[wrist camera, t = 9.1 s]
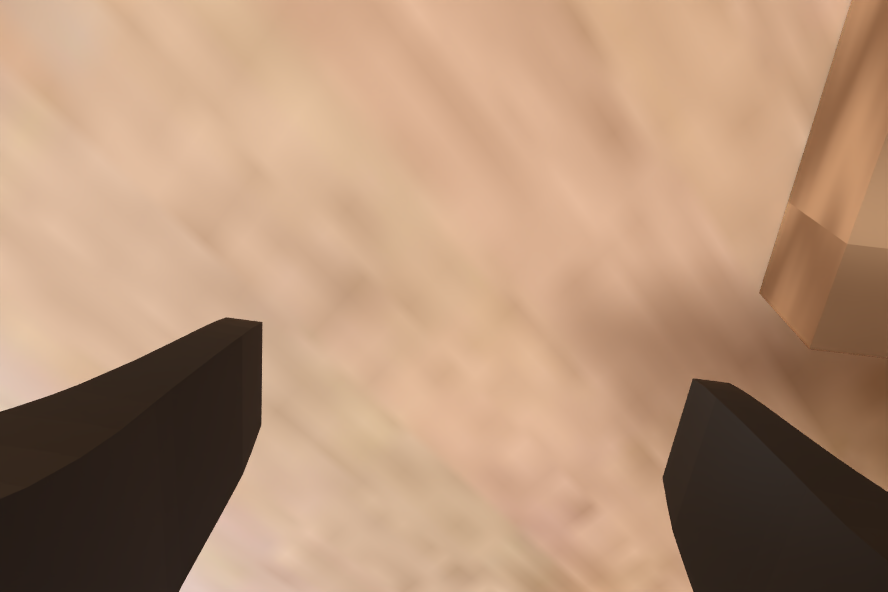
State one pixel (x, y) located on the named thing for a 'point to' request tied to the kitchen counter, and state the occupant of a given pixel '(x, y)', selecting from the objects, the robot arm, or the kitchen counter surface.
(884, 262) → the slotted wooden block
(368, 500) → the kitchen counter surface
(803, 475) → the robot arm
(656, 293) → the kitchen counter surface
